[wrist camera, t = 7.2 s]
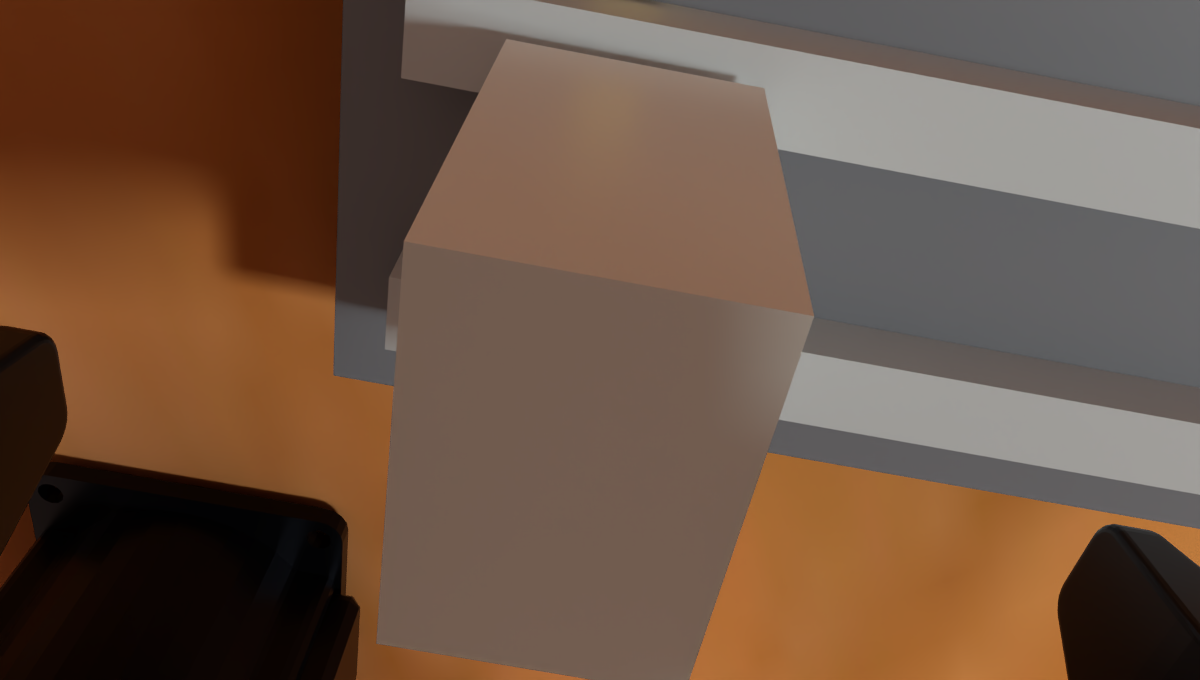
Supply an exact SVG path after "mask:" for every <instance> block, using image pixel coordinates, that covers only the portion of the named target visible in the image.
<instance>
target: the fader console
mask: <svg viewBox="0 0 1200 680" xmlns="http://www.w3.org/2000/svg"><path fill="white" fill-rule="evenodd" d="M506 39H510V40H515V41H520V42H525V43H530V44H536V45H541V46H546V47H551V48H557V49H562V50H567V51H572V52H578V53H583V54H588V55H593V56H599V57H604V58H609V59H614V60H619V61H625V62H630V63H635V64H640V65H646V66H651V67H656V68H661V69H667V70H672V71H677V72H682V73H688V74H693V75H698V76H703V77H709V78H714V79H719V80H724V81H729V82H735V83H740V84H745V85H750V86H756V87H761V88H764V89H765V94H766V98H767V103H768V108H769V112H770V117H771V121H772V126H773V130H774V135H775V140H776V144H777V149H778V153H779V158H780V162H781V167H782V172H783V176H784V181H785V185H786V190H787V194H788V199H789V204H790V208H791V213H792V217H793V222H794V226H795V231H796V236H797V240H798V245H799V249H800V254H801V258H802V263H803V268H804V272H805V277H806V281H807V286H808V290H809V295H810V300H811V304H812V309H813V313H814V318H813V321H812V324H811V327H810V330H809V333H808V336H807V338H806V341H805V344H804V347H803V350H802V353H801V356H800V359H799V362H798V365H797V368H796V370H795V373H794V376H793V379H792V382H791V385H790V388H789V391H788V394H787V397H786V399H785V402H784V405H783V408H782V411H781V414H780V417H779V420H778V423H777V426H776V429H775V431H774V434H773V437H772V440H771V443H770V446H769V449H768V452H769V453H775V454H781V455H786V456H792V457H797V458H803V459H809V460H814V461H820V462H826V463H831V464H837V465H843V466H848V467H854V468H860V469H865V470H871V471H876V472H882V473H888V474H893V475H899V476H905V477H910V478H916V479H922V480H927V481H933V482H939V483H944V484H950V485H956V486H961V487H967V488H972V489H978V490H984V491H989V492H995V493H1001V494H1006V495H1012V496H1018V497H1023V498H1029V499H1035V500H1040V501H1046V502H1051V503H1057V504H1063V505H1068V506H1074V507H1080V508H1085V509H1091V510H1097V511H1102V512H1108V513H1114V514H1119V515H1125V516H1130V517H1136V518H1142V519H1147V520H1153V521H1159V522H1164V523H1170V524H1176V525H1181V526H1187V527H1193V528H1198V529H1200V0H343V25H342V64H341V103H340V142H339V181H338V220H337V259H336V298H335V337H334V375H335V376H340V377H346V378H352V379H357V380H363V381H369V382H374V383H380V384H385V385H391V386H394V377H395V362H396V348H397V333H398V318H399V303H400V289H401V274H402V259H403V245H404V240H405V238H406V236H407V234H408V232H409V230H410V228H411V226H412V224H413V222H414V220H415V218H416V216H417V214H418V212H419V210H420V208H421V206H422V204H423V202H424V200H425V198H426V196H427V194H428V192H429V190H430V188H431V187H432V185H433V183H434V181H435V179H436V177H437V175H438V173H439V171H440V169H441V167H442V165H443V163H444V161H445V159H446V157H447V155H448V153H449V151H450V149H451V147H452V145H453V143H454V141H455V139H456V137H457V135H458V133H459V131H460V129H461V127H462V125H463V123H464V121H465V119H466V117H467V116H468V114H469V112H470V110H471V108H472V106H473V104H474V102H475V100H476V98H477V96H478V94H479V92H480V90H481V88H482V86H483V84H484V82H485V80H486V78H487V76H488V74H489V72H490V70H491V68H492V66H493V64H494V62H495V60H496V58H497V56H498V54H499V52H500V50H501V48H502V46H503V45H504V43H505V41H506Z"/></svg>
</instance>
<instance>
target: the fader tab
mask: <svg viewBox="0 0 1200 680" xmlns="http://www.w3.org/2000/svg"><path fill="white" fill-rule="evenodd" d="M813 318H814V313H813V309H812V304H811V300H810V295H809V290H808V286H807V281H806V277H805V272H804V268H803V263H802V258H801V254H800V249H799V245H798V240H797V236H796V231H795V226H794V222H793V217H792V213H791V208H790V204H789V199H788V194H787V190H786V185H785V181H784V176H783V172H782V167H781V162H780V158H779V153H778V149H777V144H776V140H775V135H774V130H773V126H772V121H771V117H770V112H769V108H768V103H767V98H766V94H765V89H764V88H761V87H756V86H750V85H745V84H740V83H735V82H729V81H724V80H719V79H714V78H709V77H703V76H698V75H693V74H688V73H682V72H677V71H672V70H667V69H661V68H656V67H651V66H646V65H640V64H635V63H630V62H625V61H619V60H614V59H609V58H604V57H599V56H593V55H588V54H583V53H578V52H572V51H567V50H562V49H557V48H551V47H546V46H541V45H536V44H530V43H525V42H520V41H515V40H510V39H506V41H505V43H504V45H503V46H502V48H501V50H500V52H499V54H498V56H497V58H496V60H495V62H494V64H493V66H492V68H491V70H490V72H489V74H488V76H487V78H486V80H485V82H484V84H483V86H482V88H481V90H480V92H479V94H478V96H477V98H476V100H475V102H474V104H473V106H472V108H471V110H470V112H469V114H468V116H467V117H466V119H465V121H464V123H463V125H462V127H461V129H460V131H459V133H458V135H457V137H456V139H455V141H454V143H453V145H452V147H451V149H450V151H449V153H448V155H447V157H446V159H445V161H444V163H443V165H442V167H441V169H440V171H439V173H438V175H437V177H436V179H435V181H434V183H433V185H432V187H431V188H430V190H429V192H428V194H427V196H426V198H425V200H424V202H423V204H422V206H421V208H420V210H419V212H418V214H417V216H416V218H415V220H414V222H413V224H412V226H411V228H410V230H409V232H408V234H407V236H406V238H405V240H404V245H403V259H402V274H401V289H400V303H399V318H398V333H397V348H396V362H395V377H394V392H393V406H392V421H391V436H390V451H389V465H388V480H387V495H386V510H385V524H384V539H383V554H382V568H381V583H380V598H379V613H378V627H377V642H376V644H382V645H388V646H394V647H400V648H406V649H412V650H418V651H424V652H430V653H436V654H442V655H448V656H454V657H460V658H465V659H471V660H477V661H483V662H489V663H495V664H501V665H507V666H513V667H519V668H525V669H531V670H537V671H543V672H549V673H555V674H561V675H567V676H573V677H579V678H585V679H591V680H689V678H690V675H691V673H692V670H693V667H694V664H695V661H696V658H697V655H698V652H699V649H700V646H701V643H702V641H703V638H704V635H705V632H706V629H707V626H708V623H709V620H710V617H711V614H712V612H713V609H714V606H715V603H716V600H717V597H718V594H719V591H720V588H721V585H722V582H723V580H724V577H725V574H726V571H727V568H728V565H729V562H730V559H731V556H732V553H733V551H734V548H735V545H736V542H737V539H738V536H739V533H740V530H741V527H742V524H743V521H744V519H745V516H746V513H747V510H748V507H749V504H750V501H751V498H752V495H753V492H754V490H755V487H756V484H757V481H758V478H759V475H760V472H761V469H762V466H763V463H764V460H765V458H766V455H767V452H768V449H769V446H770V443H771V440H772V437H773V434H774V431H775V429H776V426H777V423H778V420H779V417H780V414H781V411H782V408H783V405H784V402H785V399H786V397H787V394H788V391H789V388H790V385H791V382H792V379H793V376H794V373H795V370H796V368H797V365H798V362H799V359H800V356H801V353H802V350H803V347H804V344H805V341H806V338H807V336H808V333H809V330H810V327H811V324H812V321H813Z"/></svg>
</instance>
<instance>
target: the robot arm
mask: <svg viewBox="0 0 1200 680" xmlns="http://www.w3.org/2000/svg"><path fill="white" fill-rule="evenodd" d="M66 423H67V405H66V399H65V393H64V387H63V381H62V375H61V369H60V363H59V357H58V352H57V348H56V345H55V343H54V341H53V340H52V338H51V337H50V336H48V335H46V334H45V333H42V332H37V331H32V330H26V329H21V328H15V327H9V326H0V556H1V554H2V552H3V550H4V548H5V546H6V544H7V542H8V540H9V539H10V537H11V535H12V533H13V531H14V529H15V527H16V525H17V523H18V521H19V520H20V518H21V516H22V514H23V512H24V510H25V508H26V506H27V504H28V503H29V507H30V512H31V517H32V522H33V527H34V532H35V537H36V542H35V543H34V545H33V546H32V547H31V549H30V550H29V551H28V553H27V554H26V555H25V556H24V558H23V559H22V560H21V562H20V563H19V564H18V566H17V567H16V568H15V570H14V571H13V572H12V573H11V575H10V576H9V577H8V579H7V580H6V581H5V583H4V584H3V585H2V587H1V588H0V680H356V675H357V657H358V637H359V618H360V607H359V605H358V604H357V602H356V601H355V599H354V597H352V596H346V572H347V547H348V527H347V523H346V522H345V520H344V519H343V518H342V516H340V515H339V514H337V513H336V512H334V511H331V510H328V509H325V508H319V507H313V506H307V505H302V504H296V503H290V502H284V501H278V500H273V499H267V498H261V497H255V496H249V495H244V494H238V493H232V492H226V491H220V490H215V489H209V488H203V487H197V486H191V485H186V484H180V483H174V482H168V481H162V480H156V479H151V478H145V477H139V476H133V475H127V474H122V473H116V472H110V471H104V470H98V469H93V468H87V467H81V466H75V465H69V464H64V463H58V462H50V461H51V459H52V457H53V455H54V453H55V451H56V449H57V447H58V446H59V444H60V442H61V439H62V437H63V435H64V432H65V428H66ZM56 487H57V488H56ZM316 530H319V531H322V532H324V533H326V534H327V535H324V534H321V533H318V532H317V531H316ZM1058 619H1059V626H1060V632H1061V638H1062V645H1063V651H1064V657H1065V663H1066V670H1067V676H1068V680H1200V567H1199V566H1198V565H1197V564H1195V563H1194V562H1193V561H1192V560H1190V559H1189V558H1188V557H1187V556H1185V555H1184V554H1183V553H1182V552H1181V551H1179V550H1178V549H1177V548H1176V547H1174V546H1173V545H1172V544H1171V543H1169V542H1168V541H1167V540H1166V539H1165V538H1163V537H1162V536H1161V535H1159V534H1157V533H1155V532H1153V531H1149V530H1145V529H1139V528H1134V527H1128V526H1122V525H1117V524H1111V525H1106V526H1104V527H1102V528H1101V529H1099V530H1098V531H1097V532H1096V533H1095V535H1094V536H1093V538H1092V539H1091V541H1090V542H1089V544H1088V546H1087V547H1086V549H1085V550H1084V552H1083V554H1082V555H1081V557H1080V558H1079V560H1078V562H1077V563H1076V565H1075V566H1074V568H1073V570H1072V571H1071V573H1070V574H1069V576H1068V578H1067V579H1066V581H1065V582H1064V584H1063V586H1062V589H1061V591H1060V594H1059V599H1058Z"/></svg>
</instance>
